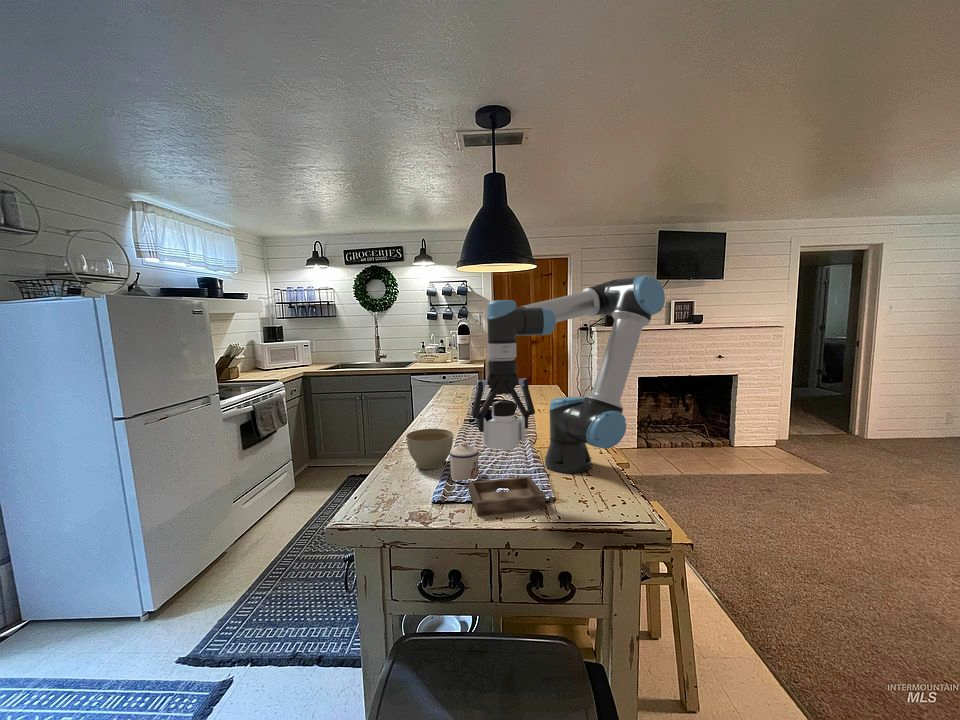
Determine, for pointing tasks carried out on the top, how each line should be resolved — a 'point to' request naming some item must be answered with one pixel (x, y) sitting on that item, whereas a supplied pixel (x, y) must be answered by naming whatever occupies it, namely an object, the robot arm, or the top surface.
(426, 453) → the planter bowl
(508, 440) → the medicine bottle
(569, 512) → the top surface
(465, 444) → the teacup with lid
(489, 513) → the holder tray
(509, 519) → the top surface
